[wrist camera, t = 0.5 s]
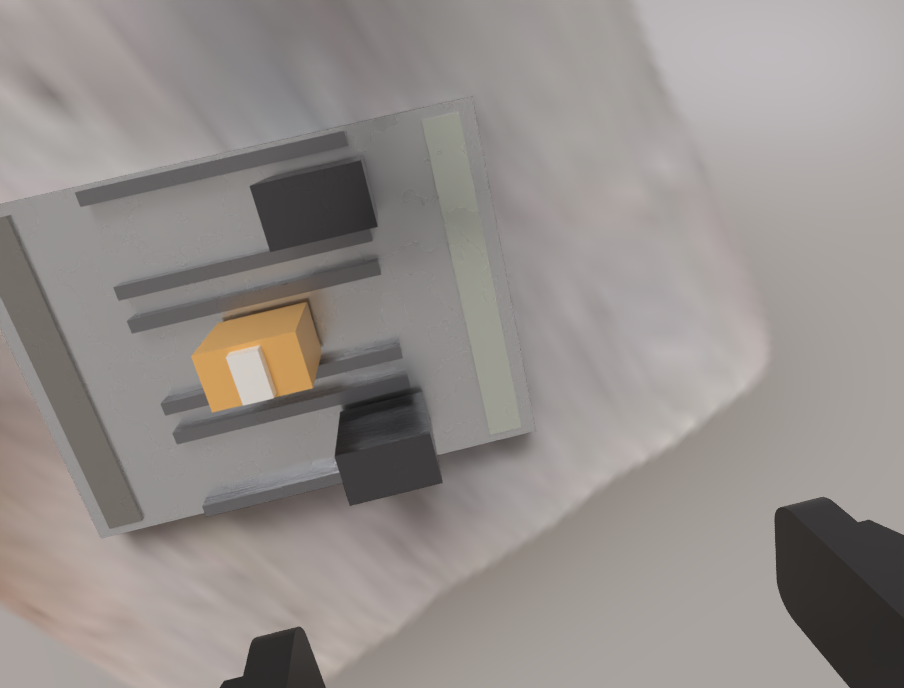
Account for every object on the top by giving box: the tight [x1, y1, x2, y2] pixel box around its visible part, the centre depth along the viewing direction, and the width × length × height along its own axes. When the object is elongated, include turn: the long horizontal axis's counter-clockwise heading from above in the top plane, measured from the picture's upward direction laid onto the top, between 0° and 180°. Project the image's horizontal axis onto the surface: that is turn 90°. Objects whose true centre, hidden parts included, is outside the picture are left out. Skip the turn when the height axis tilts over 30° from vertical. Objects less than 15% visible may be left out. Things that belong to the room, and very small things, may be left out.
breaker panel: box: [0, 97, 536, 538], centre depth 28 cm, size 16×22×7 cm
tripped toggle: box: [191, 302, 322, 413], centre depth 27 cm, size 2×4×5 cm, turn 102°
